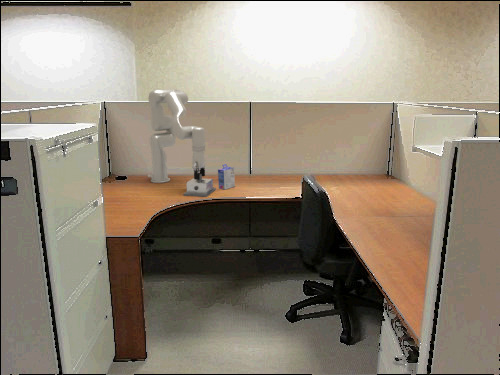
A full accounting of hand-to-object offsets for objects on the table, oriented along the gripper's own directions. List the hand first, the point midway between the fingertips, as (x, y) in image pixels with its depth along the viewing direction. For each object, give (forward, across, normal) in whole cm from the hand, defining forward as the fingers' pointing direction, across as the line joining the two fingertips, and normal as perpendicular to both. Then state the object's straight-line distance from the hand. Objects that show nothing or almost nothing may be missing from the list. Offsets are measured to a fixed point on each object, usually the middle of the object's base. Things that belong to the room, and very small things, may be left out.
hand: (199, 177), depth 259 cm
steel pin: (+8, 0, 0) cm, 8 cm away
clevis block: (+9, 0, 0) cm, 9 cm away
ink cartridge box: (+9, -15, +12) cm, 21 cm away
